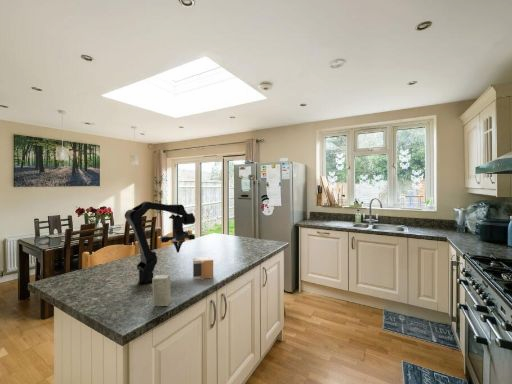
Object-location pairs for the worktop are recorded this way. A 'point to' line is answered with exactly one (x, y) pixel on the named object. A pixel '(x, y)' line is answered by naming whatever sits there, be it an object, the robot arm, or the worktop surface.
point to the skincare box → (161, 290)
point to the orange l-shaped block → (206, 269)
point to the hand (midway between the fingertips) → (177, 252)
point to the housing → (198, 267)
